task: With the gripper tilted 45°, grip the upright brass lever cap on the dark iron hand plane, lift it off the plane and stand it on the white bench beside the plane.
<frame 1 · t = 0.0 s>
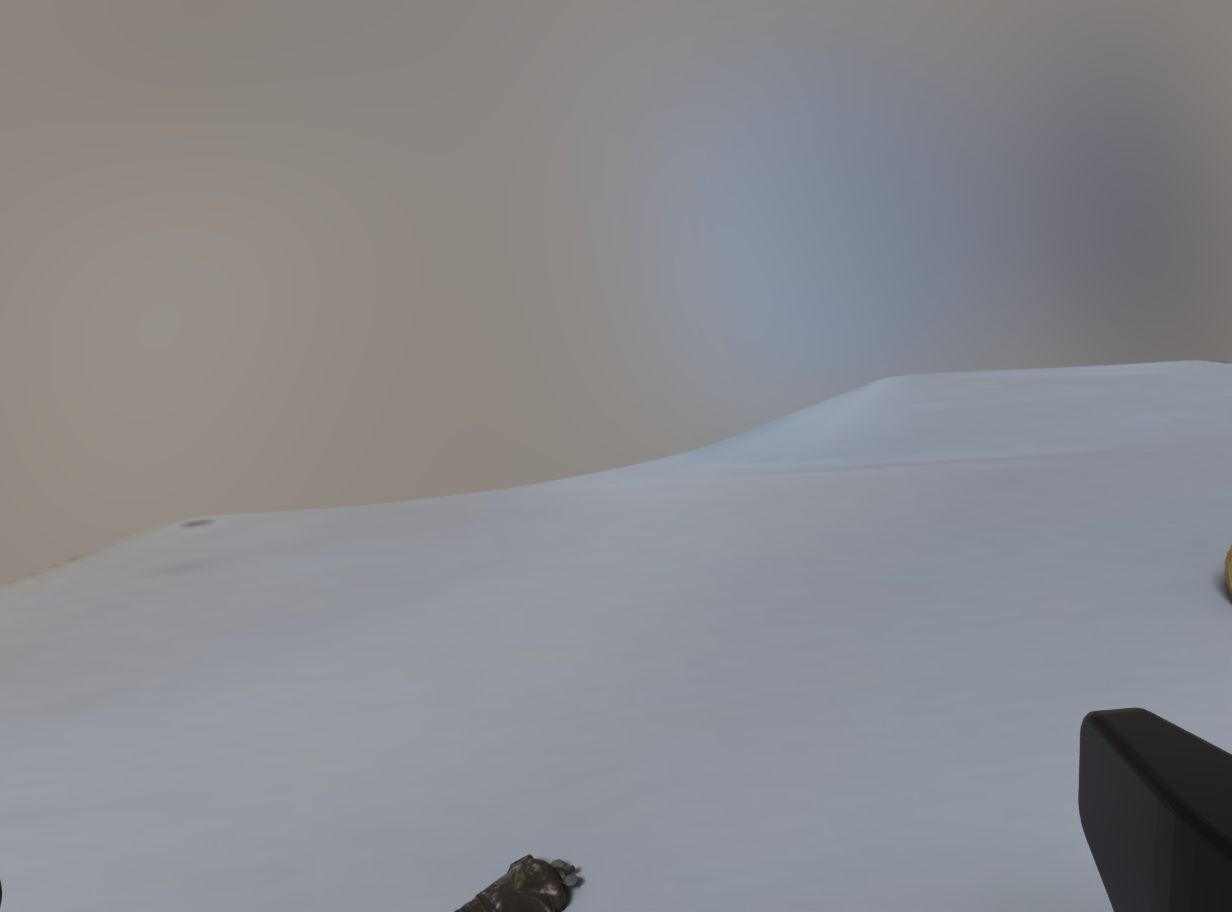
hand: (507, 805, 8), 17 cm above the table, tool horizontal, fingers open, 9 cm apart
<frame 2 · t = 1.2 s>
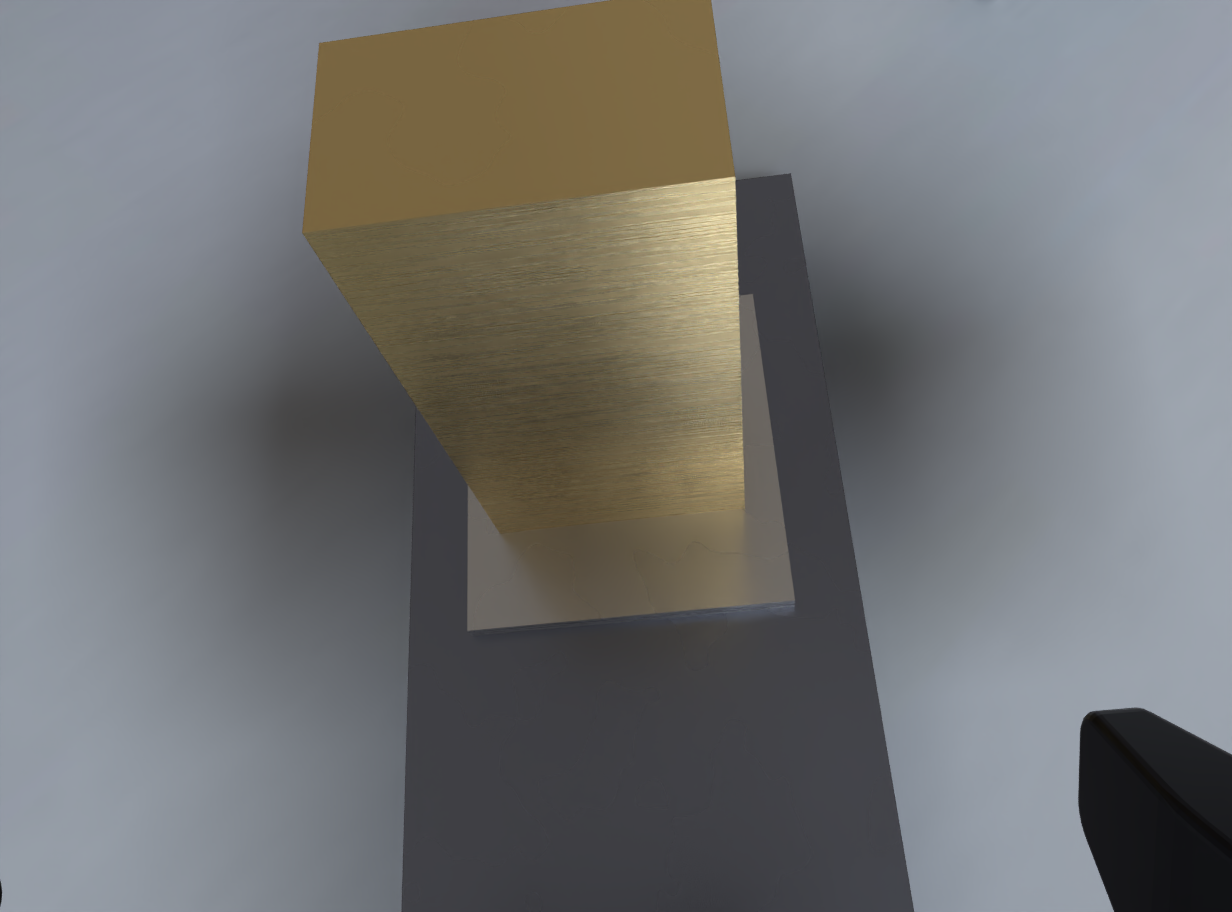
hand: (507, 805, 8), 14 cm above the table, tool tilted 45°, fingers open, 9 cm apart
plane body: (652, 769, 21), on the table
lever cap: (616, 453, 21), point 3 cm above the table, touching plane body
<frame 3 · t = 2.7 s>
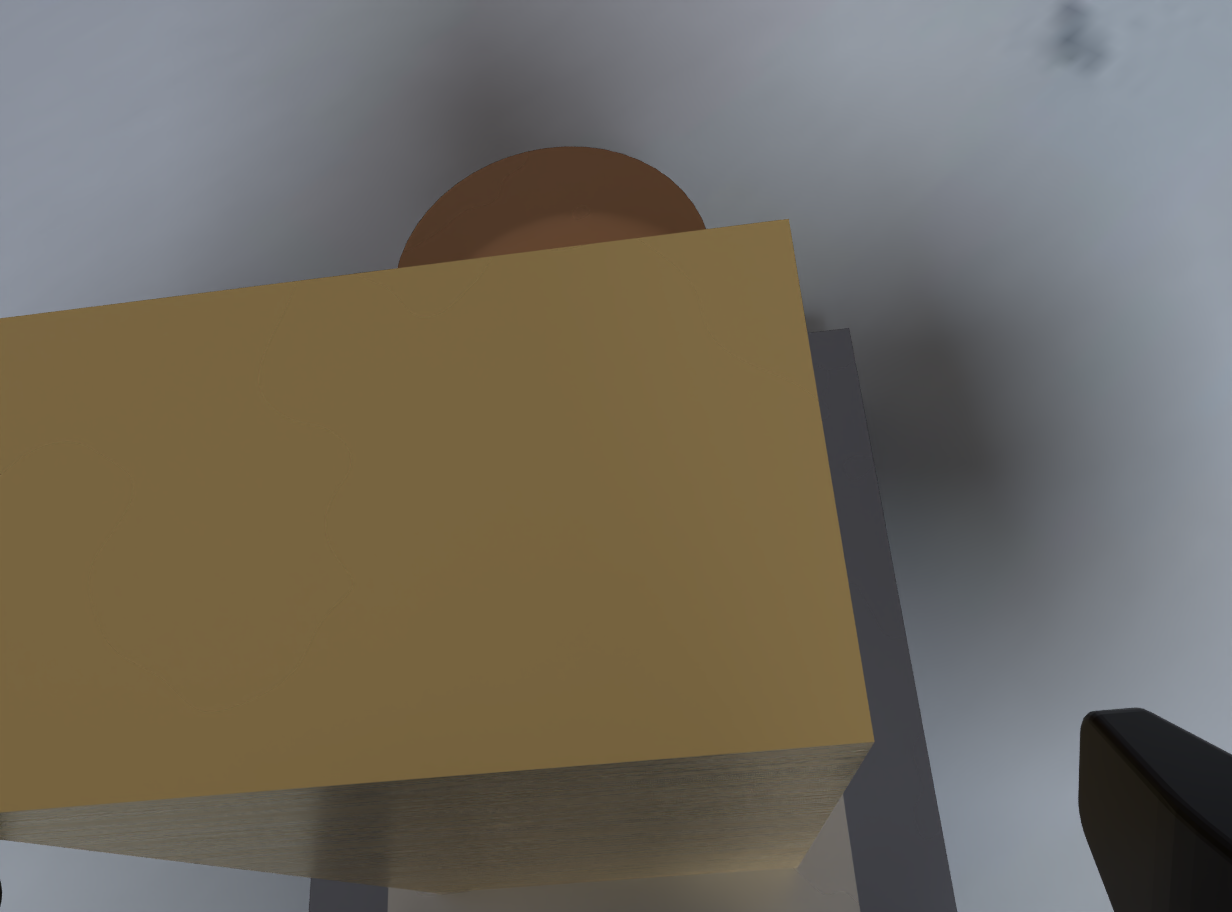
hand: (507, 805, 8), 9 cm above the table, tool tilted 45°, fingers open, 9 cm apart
lever cap: (607, 766, 15), point 3 cm above the table, touching plane body
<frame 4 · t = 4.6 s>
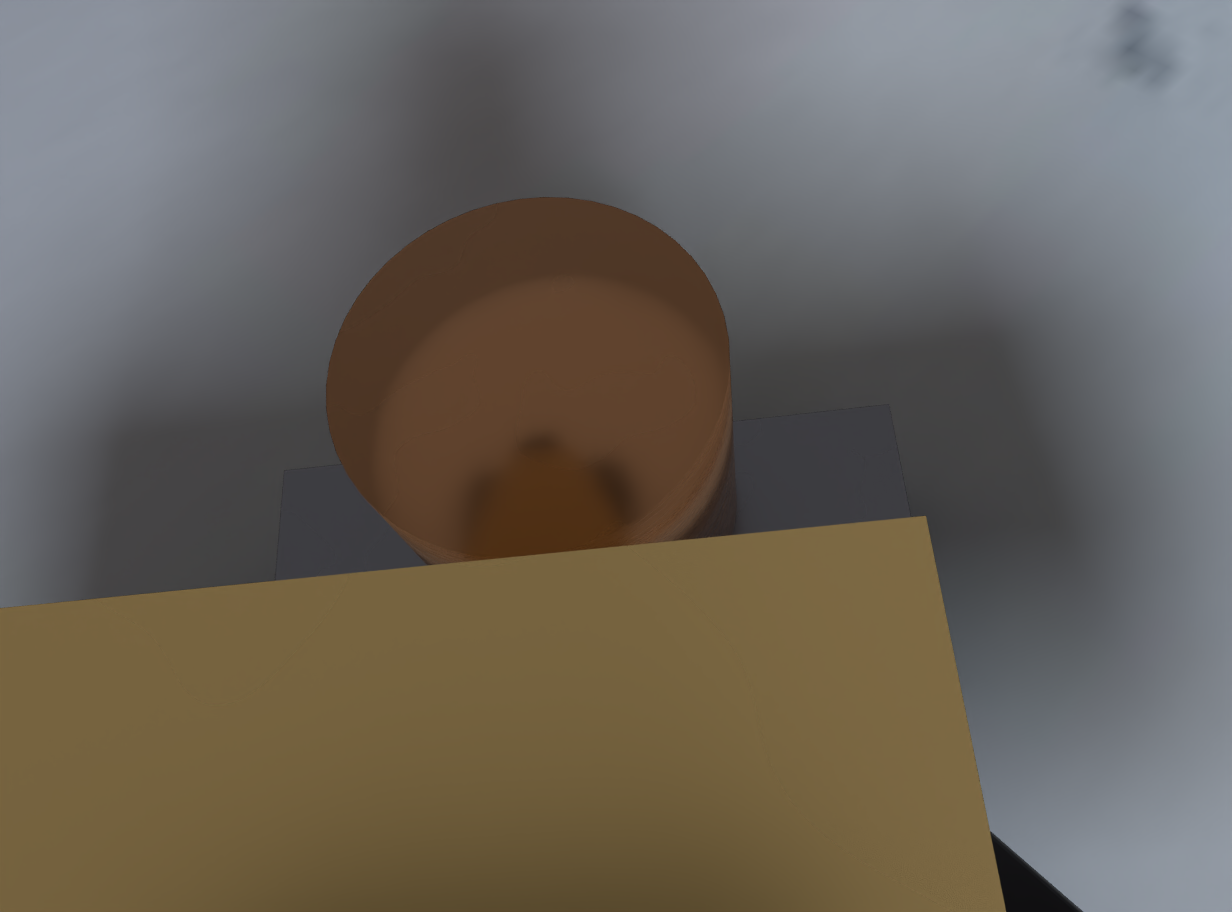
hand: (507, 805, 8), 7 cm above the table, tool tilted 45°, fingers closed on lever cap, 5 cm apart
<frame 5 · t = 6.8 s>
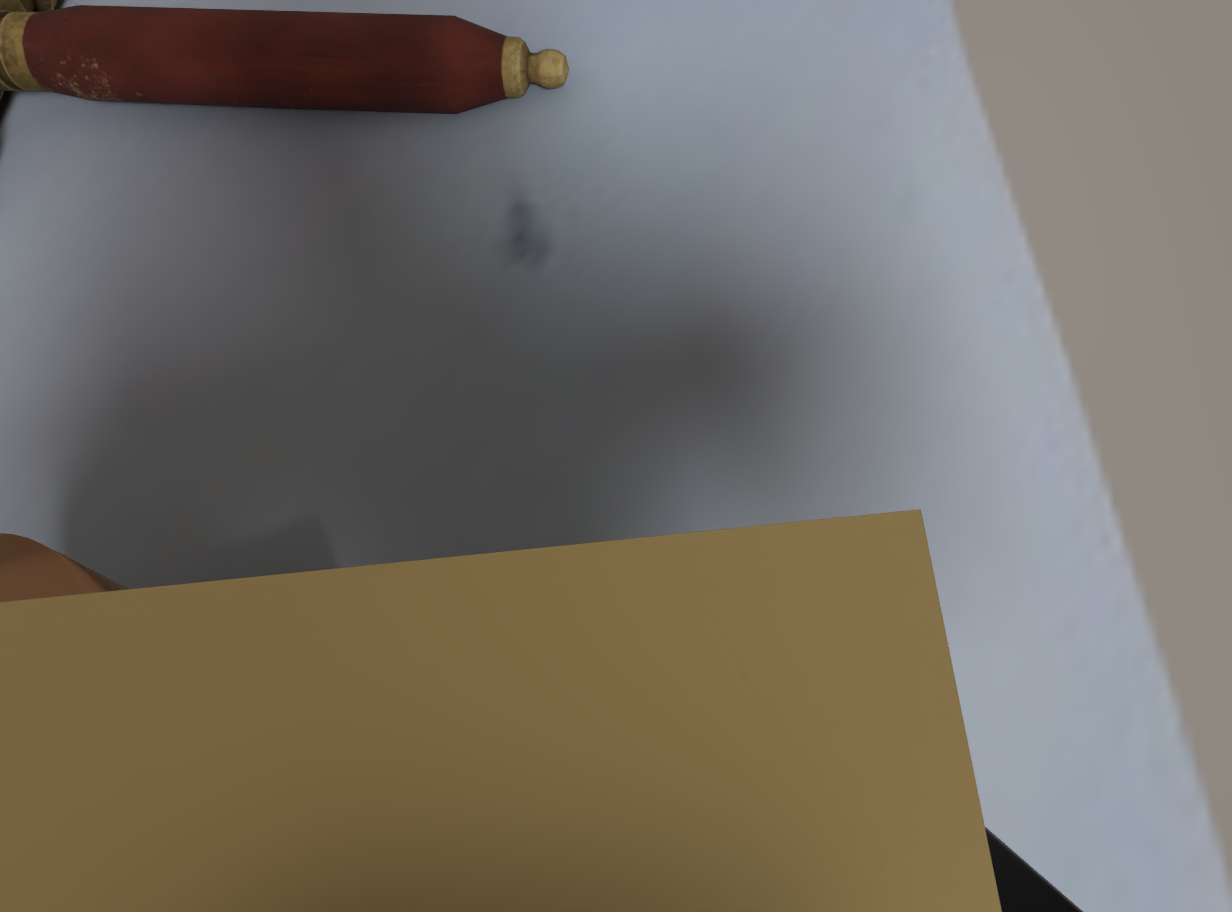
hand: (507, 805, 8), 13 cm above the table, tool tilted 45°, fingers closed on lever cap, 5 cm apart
gavel: (234, 107, 31), on the table
when the fingers open (6 cm above the table, at t = 9.1 s): lever cap drops 2 cm, on the table.
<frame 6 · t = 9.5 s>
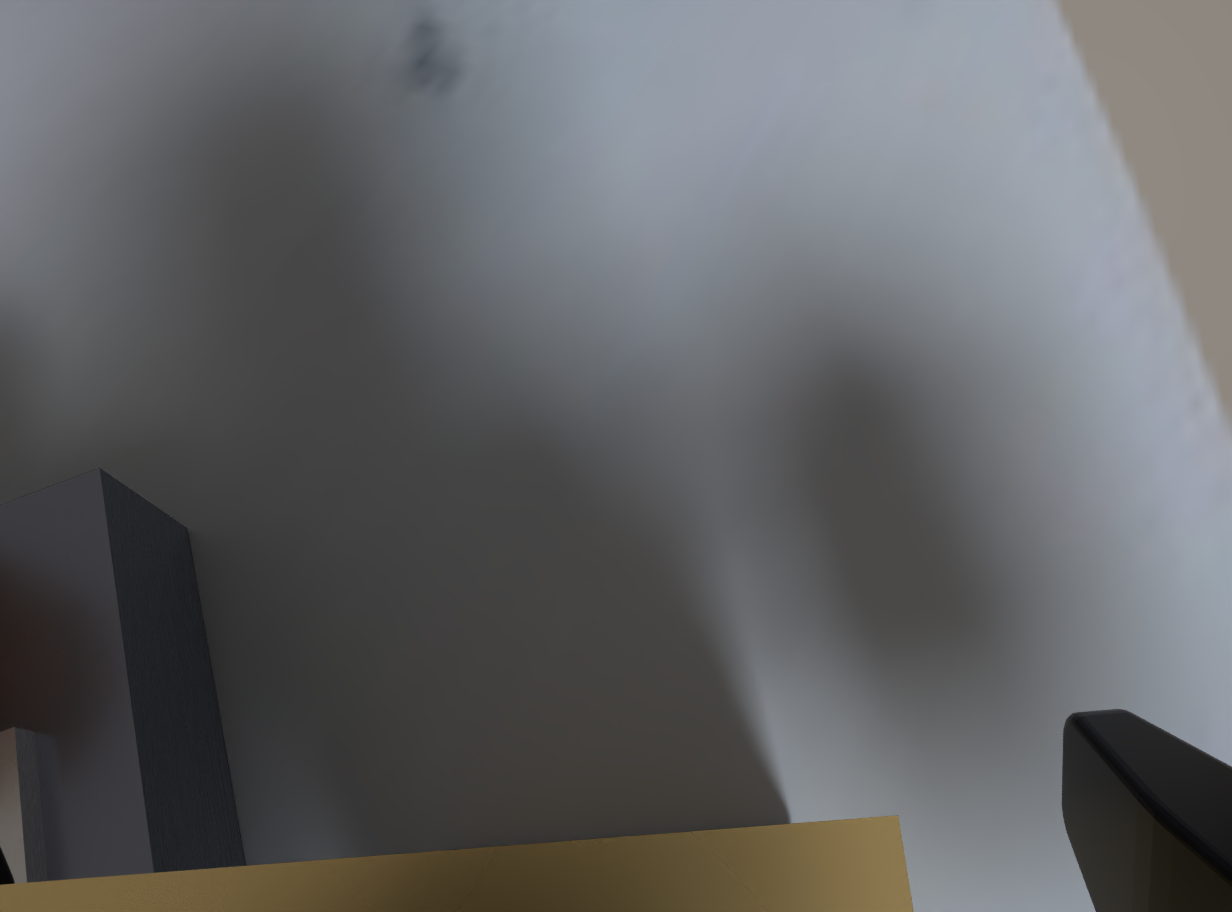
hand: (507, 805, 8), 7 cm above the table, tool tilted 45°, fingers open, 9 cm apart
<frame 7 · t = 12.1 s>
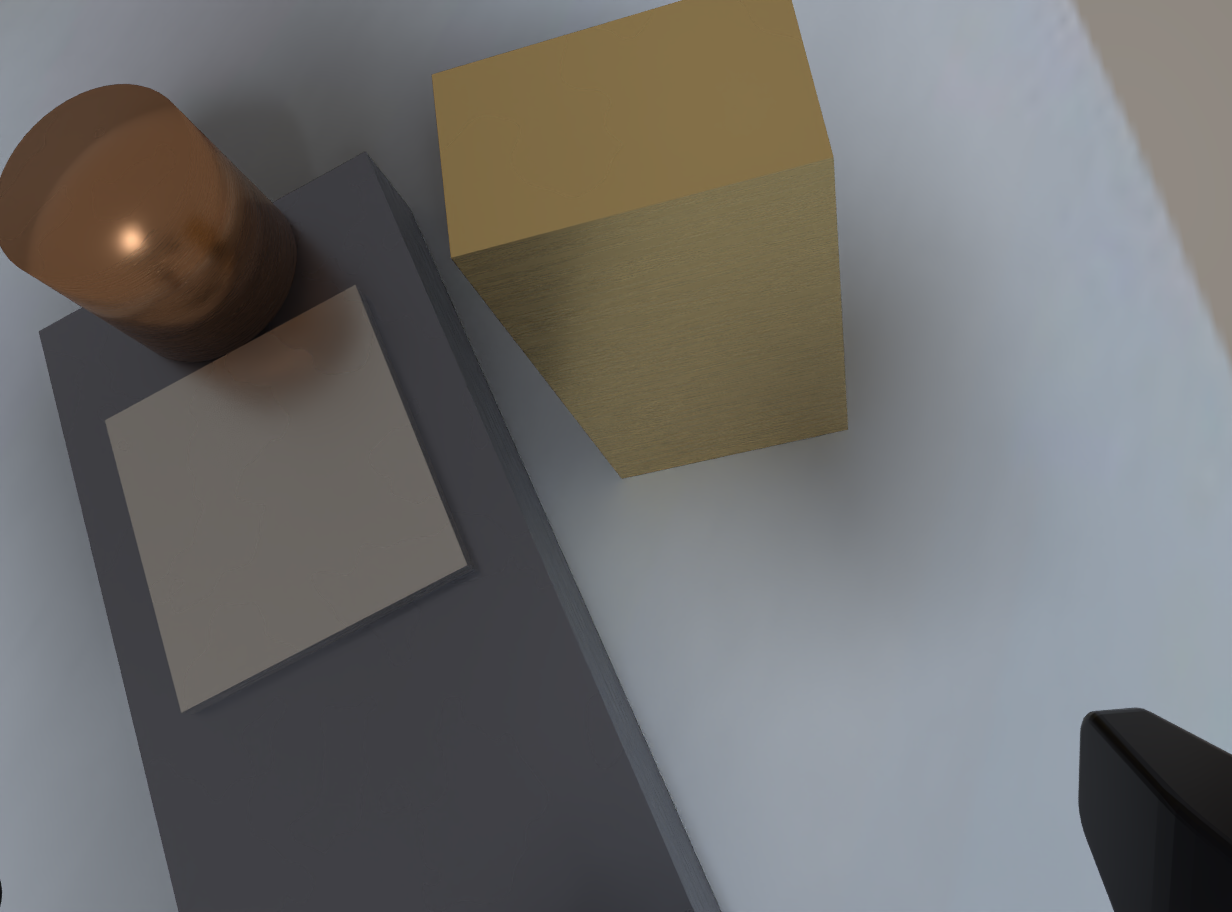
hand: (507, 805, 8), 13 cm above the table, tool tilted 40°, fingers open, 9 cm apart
plane body: (425, 765, 21), on the table
lever cap: (720, 392, 23), on the table
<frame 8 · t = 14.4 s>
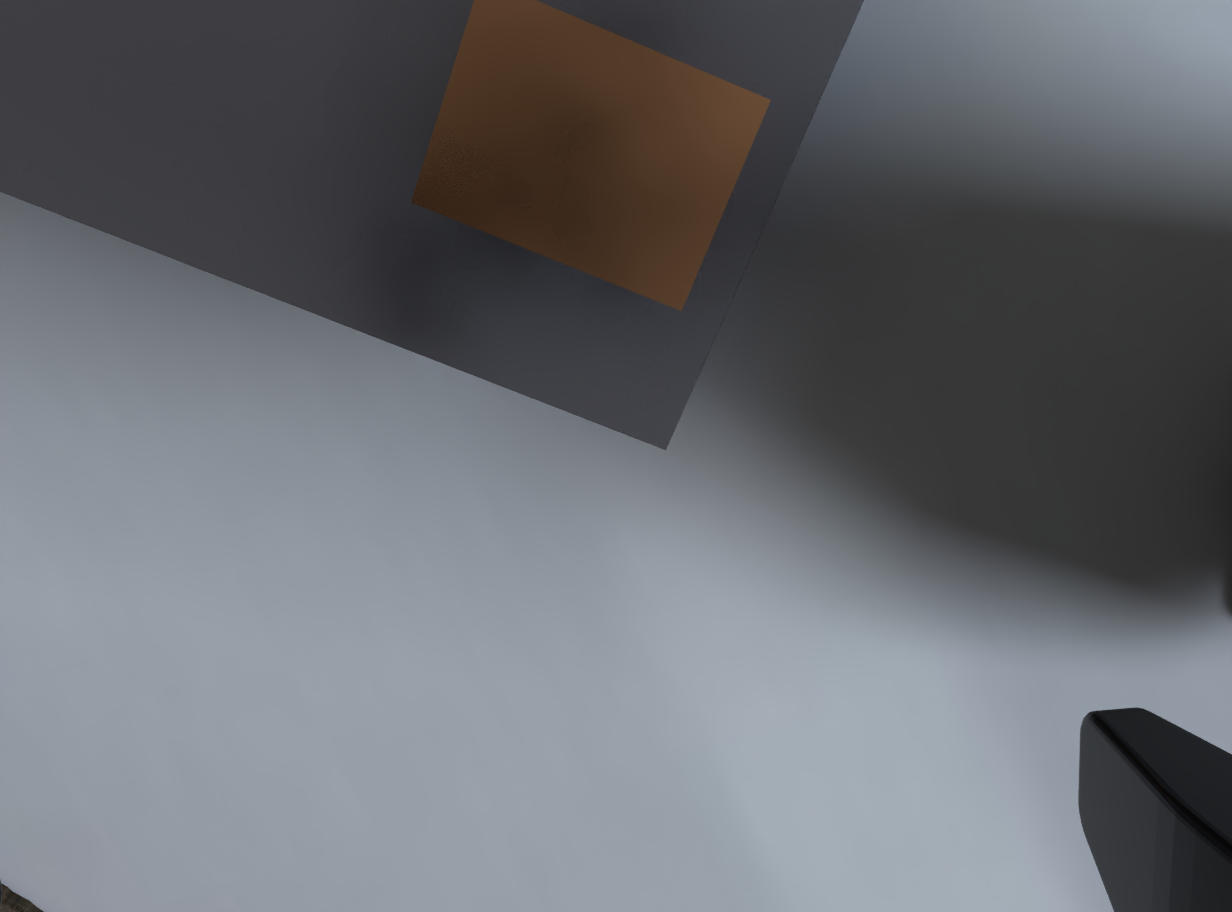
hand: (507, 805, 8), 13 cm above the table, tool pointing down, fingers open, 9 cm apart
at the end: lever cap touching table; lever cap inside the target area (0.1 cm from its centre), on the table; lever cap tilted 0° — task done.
